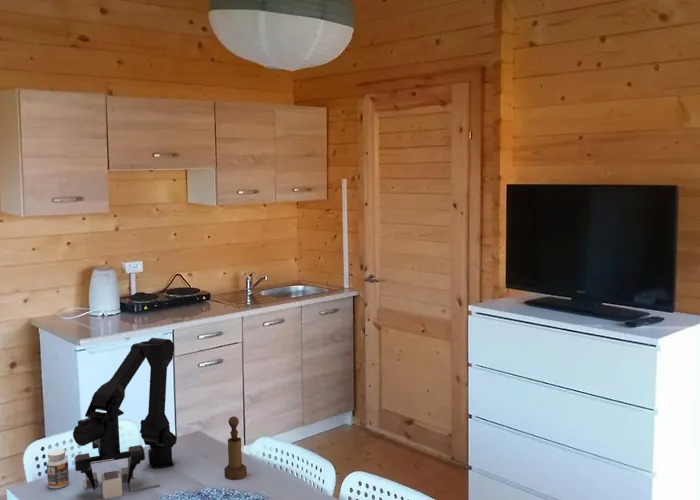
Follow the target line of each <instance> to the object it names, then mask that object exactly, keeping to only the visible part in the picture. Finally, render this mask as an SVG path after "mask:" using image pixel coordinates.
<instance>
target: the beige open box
mask: <svg viewBox="0 0 700 500" xmlns="http://www.w3.org/2000/svg"><path fill="white" fill-rule="evenodd" d="M100 476H101V478H100V479H101V491H102V496H103V500H104V499H109V498H114V497H120V496H123V485H122V484H123V481H122V477H121V470H113V471H107V472H103V473H101V474H100Z"/></svg>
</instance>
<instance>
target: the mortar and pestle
mask: <svg viewBox="0 0 700 500" xmlns="http://www.w3.org/2000/svg"><path fill="white" fill-rule="evenodd" d="M239 422H240V421H239V418H238V417H237V416H234V415H233V416H230V417H229V419H228V425H229V427H230V429H231V431H230V432H229V433H230V438H228V439H227V451H228V454H227V455H228V464H227V465H226V466H225V467H224V469H223V470H224V477H225V478H226V479H228V480H241V479H244V478H245V477H247V475H248V473H247V466H246V465H245V464H243V457H242V438H241V437H238V436H239V435H238V434H239V431H238V429H237V427H238V425H239Z"/></svg>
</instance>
